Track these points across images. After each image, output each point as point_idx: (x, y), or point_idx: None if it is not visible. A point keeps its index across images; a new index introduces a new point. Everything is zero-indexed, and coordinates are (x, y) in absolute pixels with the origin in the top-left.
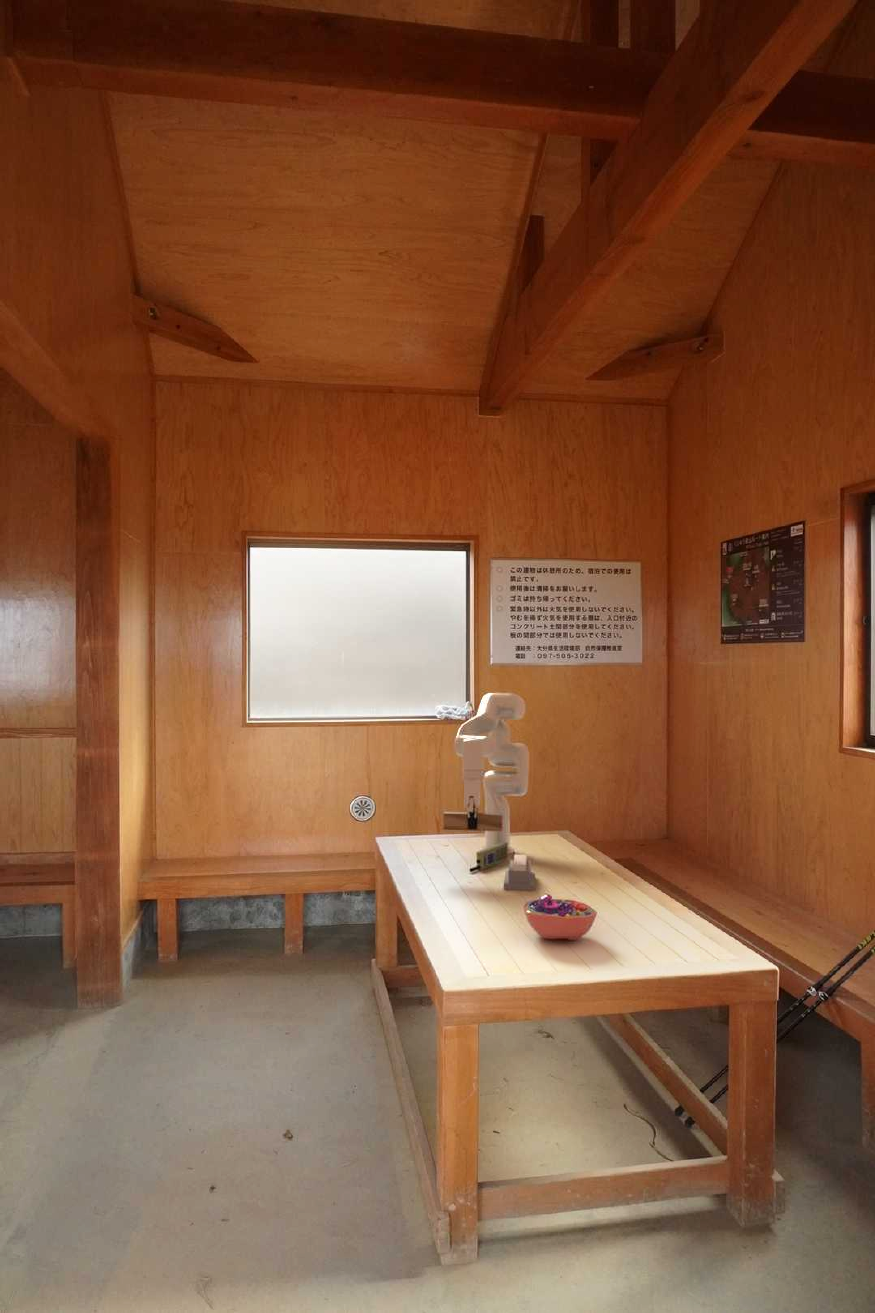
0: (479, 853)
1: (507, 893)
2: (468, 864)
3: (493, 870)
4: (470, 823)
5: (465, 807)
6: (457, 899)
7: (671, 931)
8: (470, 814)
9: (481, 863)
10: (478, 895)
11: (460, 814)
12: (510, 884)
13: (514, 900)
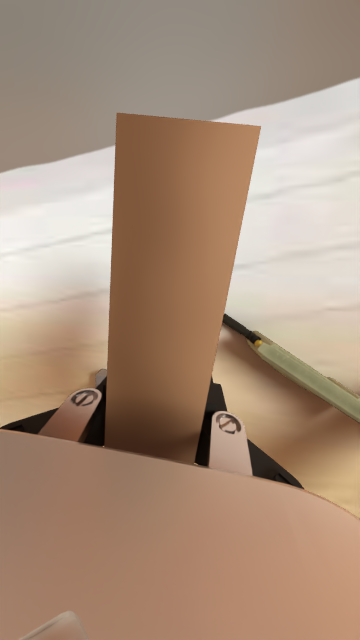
0: (264, 350)
1: (80, 372)
2: (306, 313)
3: (243, 364)
4: (106, 379)
5: (28, 446)
6: (26, 281)
7: None
8: (38, 427)
9: (251, 345)
10: (59, 322)
11: (110, 336)
12: (96, 385)
13: (42, 378)
